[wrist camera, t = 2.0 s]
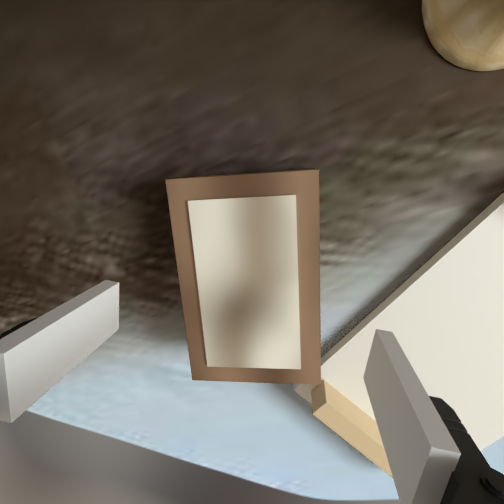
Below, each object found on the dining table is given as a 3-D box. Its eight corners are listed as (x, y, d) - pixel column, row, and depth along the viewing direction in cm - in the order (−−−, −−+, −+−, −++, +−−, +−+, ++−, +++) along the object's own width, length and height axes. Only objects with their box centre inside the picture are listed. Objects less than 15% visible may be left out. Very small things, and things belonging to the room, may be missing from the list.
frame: (211, 342, 27) (191, 381, 22) (192, 176, 23) (164, 179, 18) (316, 344, 26) (321, 386, 21) (314, 168, 22) (319, 169, 17)
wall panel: (293, 382, 27) (293, 422, 22) (548, 151, 19) (615, 148, 15) (414, 478, 27) (435, 534, 23) (699, 292, 20) (801, 324, 16)
